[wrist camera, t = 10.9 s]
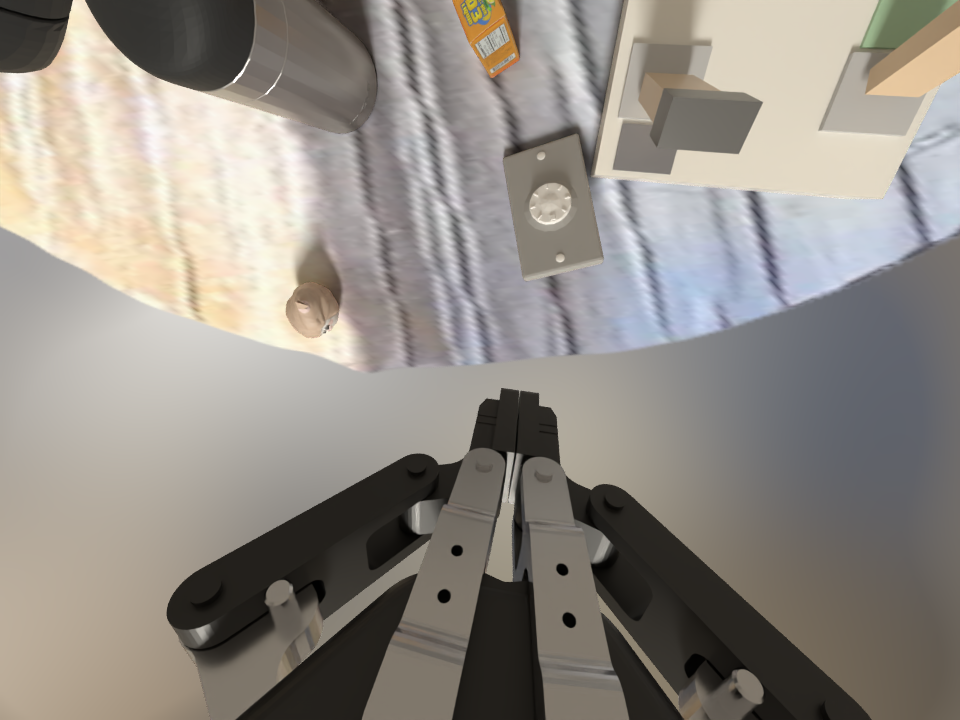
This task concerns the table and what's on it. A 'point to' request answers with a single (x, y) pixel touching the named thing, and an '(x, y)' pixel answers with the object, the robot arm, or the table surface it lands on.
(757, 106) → the lever charcoal
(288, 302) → the brown hamster figurine
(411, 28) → the table surface
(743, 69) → the switch unit
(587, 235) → the light switch
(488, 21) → the supplement box
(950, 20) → the tan lever
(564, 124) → the table surface
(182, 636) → the robot arm
